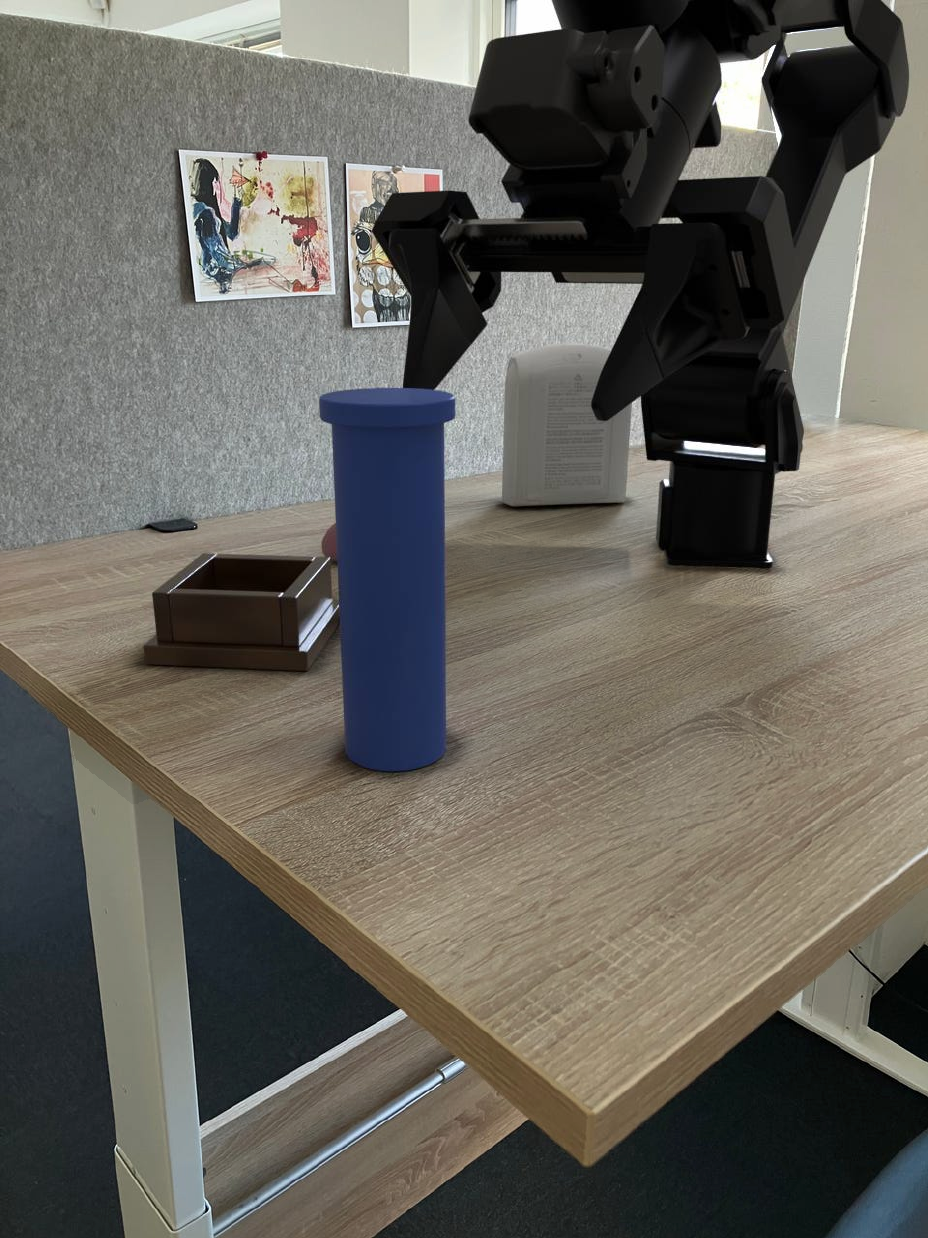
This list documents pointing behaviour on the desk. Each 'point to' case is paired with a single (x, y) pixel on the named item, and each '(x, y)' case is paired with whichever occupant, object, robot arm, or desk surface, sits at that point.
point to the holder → (244, 613)
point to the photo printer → (561, 430)
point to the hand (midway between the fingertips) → (498, 405)
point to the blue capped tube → (391, 571)
